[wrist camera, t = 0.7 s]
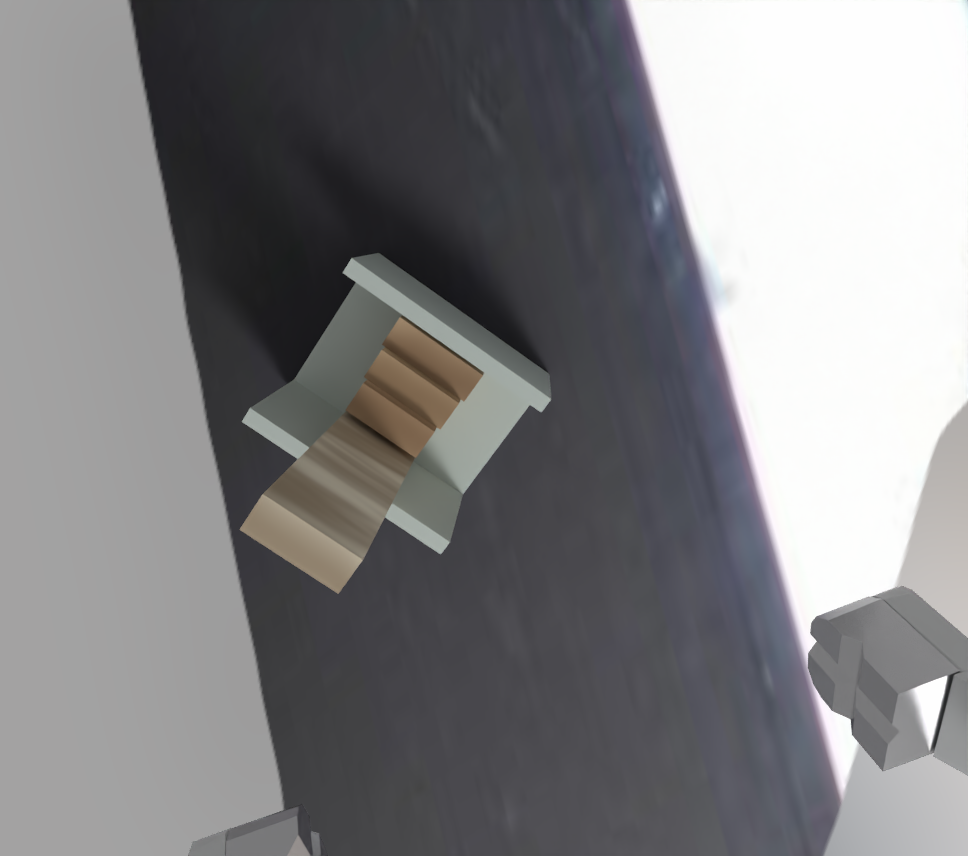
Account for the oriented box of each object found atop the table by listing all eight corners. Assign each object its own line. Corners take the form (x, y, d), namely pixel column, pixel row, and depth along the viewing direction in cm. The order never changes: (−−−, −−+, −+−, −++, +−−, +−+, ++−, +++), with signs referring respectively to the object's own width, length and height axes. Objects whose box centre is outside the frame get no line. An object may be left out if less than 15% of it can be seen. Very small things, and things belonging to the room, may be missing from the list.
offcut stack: (413, 307, 48) (393, 321, 41) (488, 360, 49) (480, 382, 42) (364, 380, 50) (338, 405, 43) (437, 430, 50) (422, 462, 44)
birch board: (368, 389, 50) (262, 494, 31) (428, 431, 50) (363, 559, 31) (352, 412, 50) (239, 529, 31) (412, 453, 51) (338, 593, 32)
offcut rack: (378, 252, 49) (342, 259, 40) (549, 373, 50) (552, 407, 41) (291, 389, 52) (239, 425, 43) (454, 500, 53) (437, 558, 44)
